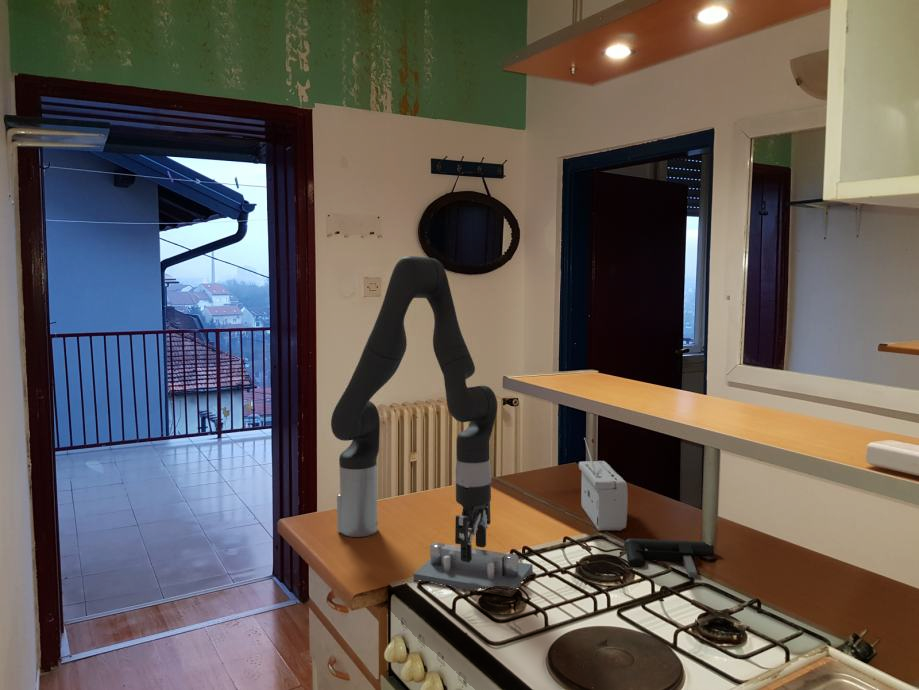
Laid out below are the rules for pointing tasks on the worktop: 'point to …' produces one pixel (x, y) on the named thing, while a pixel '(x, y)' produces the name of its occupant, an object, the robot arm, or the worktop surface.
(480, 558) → the grey end-post crossbar
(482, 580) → the board
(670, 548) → the toy gun
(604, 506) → the stereo radio cassette player
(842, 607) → the worktop surface
